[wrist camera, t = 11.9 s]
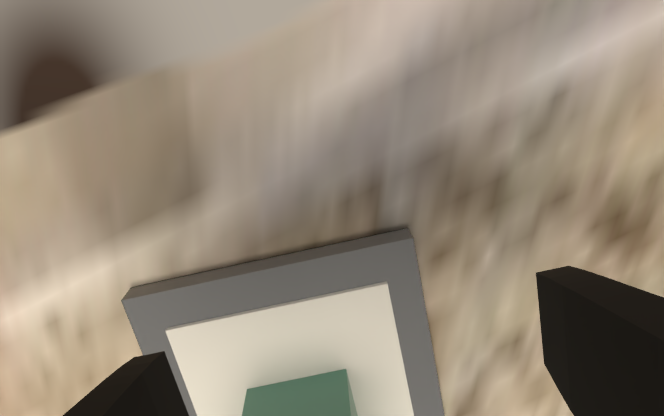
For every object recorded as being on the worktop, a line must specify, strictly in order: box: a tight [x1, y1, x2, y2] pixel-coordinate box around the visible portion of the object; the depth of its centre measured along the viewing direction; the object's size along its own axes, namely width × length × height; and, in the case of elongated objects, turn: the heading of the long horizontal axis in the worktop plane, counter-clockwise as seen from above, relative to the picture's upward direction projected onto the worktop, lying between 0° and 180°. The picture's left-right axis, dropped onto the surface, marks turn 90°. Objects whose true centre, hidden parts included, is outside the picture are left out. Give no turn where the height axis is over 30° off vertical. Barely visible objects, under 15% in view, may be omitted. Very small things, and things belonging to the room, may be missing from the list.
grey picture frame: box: [121, 228, 444, 416], centre depth 20 cm, size 11×13×1 cm
